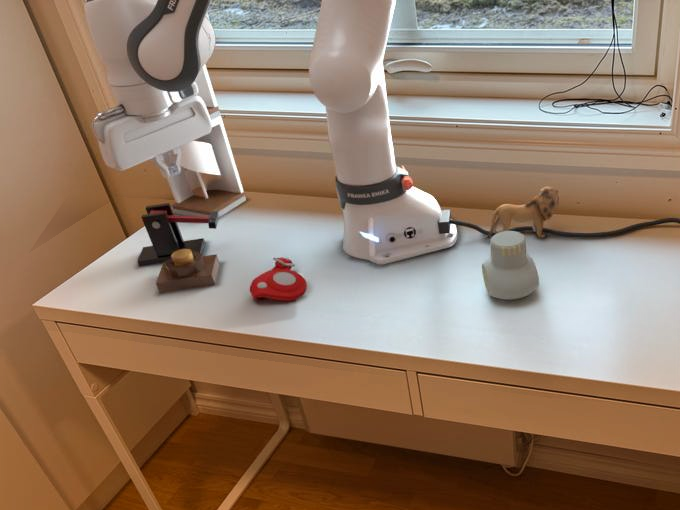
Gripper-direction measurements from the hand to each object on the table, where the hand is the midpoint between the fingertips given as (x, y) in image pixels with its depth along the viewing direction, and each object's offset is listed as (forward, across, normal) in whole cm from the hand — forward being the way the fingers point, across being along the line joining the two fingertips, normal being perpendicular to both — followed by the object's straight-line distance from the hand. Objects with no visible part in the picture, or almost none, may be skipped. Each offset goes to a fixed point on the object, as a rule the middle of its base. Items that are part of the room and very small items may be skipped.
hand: (172, 175), depth 125 cm
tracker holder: (+18, +1, -21) cm, 28 cm away
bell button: (+14, -5, -2) cm, 15 cm away
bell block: (+18, -5, -2) cm, 19 cm away
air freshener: (+18, +18, -59) cm, 64 cm away
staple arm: (+12, +3, +6) cm, 14 cm away
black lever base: (+18, 0, +9) cm, 20 cm away
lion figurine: (+18, +37, -51) cm, 65 cm away
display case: (+18, +18, +20) cm, 33 cm away
